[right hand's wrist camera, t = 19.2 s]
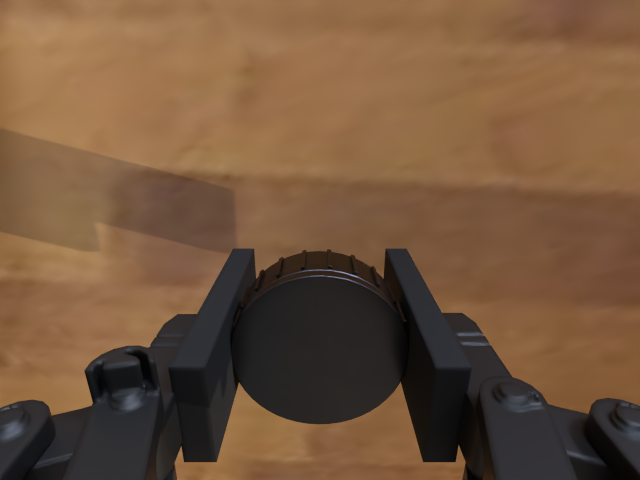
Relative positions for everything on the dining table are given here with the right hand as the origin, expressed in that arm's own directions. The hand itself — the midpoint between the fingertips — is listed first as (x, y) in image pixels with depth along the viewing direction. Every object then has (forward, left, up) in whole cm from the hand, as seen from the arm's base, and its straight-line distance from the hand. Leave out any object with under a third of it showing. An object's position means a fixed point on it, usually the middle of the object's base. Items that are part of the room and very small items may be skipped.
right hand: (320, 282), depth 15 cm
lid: (0, 0, +4) cm, 4 cm away
